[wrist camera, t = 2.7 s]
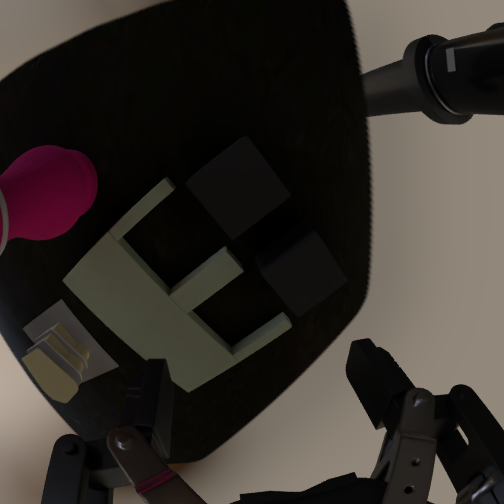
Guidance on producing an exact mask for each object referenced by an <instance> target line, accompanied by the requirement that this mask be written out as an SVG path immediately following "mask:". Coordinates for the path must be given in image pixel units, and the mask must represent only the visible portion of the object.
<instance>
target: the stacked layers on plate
mask: <svg viewBox="0 0 504 504" xmlns="http://www.w3.org/2000/svg"><path fill="white" fill-rule="evenodd" d="M23 330H24V331H25V332H26V334H27V335H28V336H29V337H30V339H31V340H32V341H33V342H34V343H35V345H34V346H33V347H31V348H30V349H28V350H27V353H28V355H26V356H25V357H23V358H22V360H23V362H24V363H25V365H26V366H27V368H28V369H29V371H30V372H31V374H32V375H33V377H34V378H35V379H36V381H37V382H38V384H39V385H40V386H41V388H42V389H43V390H44V392H46V393H47V394H48V395H49V396H50V397H51V398H52V399H54V400H57V401H60V402H63V403H67V402H68V401H69V400H70V399H71V398H72V397H73V396H74V395H75V394H76V392H77V391H78V386H79V385H80V384H81V383H82V382H85V381H87V380H89V379H92V378H94V377H96V376H98V375H101V374H103V373H105V372H108V371H110V370H112V369H114V368H116V367H119V365H118V364H117V363H116V362H115V361H114V360H113V359H112V358H111V357H110V356H109V355H108V354H107V353H106V352H105V351H104V350H103V348H102V347H101V346H100V345H99V344H98V343H97V342H96V341H95V339H94V338H93V337H92V336H91V335H90V334H89V333H88V331H87V330H86V329H85V328H84V327H83V325H82V324H81V323H80V322H79V321H78V319H77V318H76V317H75V316H74V314H73V313H72V312H71V311H70V309H69V308H68V307H67V306H66V304H65V303H64V302H63V300H62V299H61V300H60V301H58V302H57V303H56V304H54V305H53V306H51V307H50V308H49V309H47V310H46V311H45V312H43V313H42V314H41V315H39V316H38V317H37V318H35V319H34V320H33V321H32V322H30V323H29V324H28V325H26V326H25V327H24V328H23Z"/></svg>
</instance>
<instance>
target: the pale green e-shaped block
mask: <svg viewBox="0 0 504 504" xmlns="http://www.w3.org/2000/svg"><path fill="white" fill-rule="evenodd" d="M175 188H176V186H175V185H174V184H173V183H172V182H171V180H170V179H169V178H168V177H166V178H165V179H163V180H162V181H161V182H160V183H159V184H158V185H156V186H155V187H154V188H153V189H152V190H151V191H150V192H149V193H148V194H146V195H145V196H144V197H143V198H142V199H141V200H140V201H139V202H138V203H137V204H136V205H134V206H133V207H132V208H131V209H130V210H129V211H128V212H127V213H126V214H125V215H124V216H123V217H122V218H121V219H120V220H119V221H118V222H117V223H116V224H115V225H114V226H113V227H112V228H111V229H110V230H109V231H108V232H107V233H106V234H105V235H104V236H103V237H102V238H101V239H100V240H99V241H98V242H97V243H96V244H95V245H94V246H93V247H92V248H91V249H90V250H89V251H88V253H87V254H86V255H85V256H84V257H83V258H82V259H81V260H80V261H79V262H78V263H77V265H76V266H75V267H74V268H73V269H72V270H71V271H70V272H69V274H68V275H67V276H66V277H65V278H64V279H63V282H64V283H65V284H66V285H67V286H68V287H69V288H70V289H71V291H72V292H73V293H74V294H75V295H76V296H77V297H78V298H79V299H80V300H81V301H82V302H83V303H84V304H85V305H86V306H87V307H88V308H89V309H90V310H91V311H92V312H93V313H94V314H95V315H96V316H97V317H98V318H99V319H100V320H101V321H102V322H103V323H104V324H105V325H106V326H108V327H109V328H110V329H111V330H112V331H113V332H114V333H115V334H116V335H117V336H118V337H120V338H121V339H122V340H123V341H124V342H125V343H126V344H128V345H129V346H130V347H131V348H132V349H133V350H134V351H136V352H137V353H138V354H139V355H140V356H142V357H143V358H144V359H145V360H146V361H147V360H148V359H149V358H165V359H166V360H167V364H168V368H169V372H170V376H171V380H172V381H173V382H175V383H176V384H177V385H179V386H180V387H181V388H183V389H184V390H186V391H187V392H190V391H192V390H193V389H195V388H197V387H199V386H200V385H202V384H204V383H205V382H207V381H209V380H211V379H212V378H214V377H216V376H217V375H219V374H221V373H222V372H224V371H225V370H227V369H229V368H230V367H232V366H233V365H235V364H237V363H238V362H239V361H241V360H243V359H245V358H246V357H248V356H249V355H251V354H252V353H254V352H255V351H257V350H258V349H260V348H262V347H263V346H265V345H266V344H268V343H269V342H271V341H272V340H274V339H275V338H276V337H278V336H279V335H281V334H282V333H284V332H285V331H287V330H288V329H290V328H291V327H292V324H291V322H290V320H289V318H288V317H287V316H286V315H285V314H284V312H282V313H280V314H279V315H277V316H276V317H274V318H273V319H272V320H270V321H269V322H267V323H266V324H264V325H263V326H262V327H260V328H259V329H257V330H256V331H254V332H253V333H251V334H250V335H248V336H247V337H245V338H244V339H242V340H241V341H240V342H238V343H237V344H235V345H233V346H232V347H231V346H230V345H229V344H227V343H226V342H225V341H224V340H223V339H222V338H221V337H220V336H219V335H218V334H217V333H215V332H214V331H213V330H212V329H211V328H210V327H209V326H208V325H207V324H206V323H205V322H204V321H203V320H202V319H201V318H200V317H199V316H197V315H196V314H195V313H194V312H193V311H192V310H193V309H194V308H195V307H197V306H198V305H199V304H201V303H202V302H203V301H205V300H206V299H207V298H209V297H210V296H211V295H213V294H214V293H215V292H217V291H218V290H219V289H221V288H222V287H223V286H225V285H226V284H227V283H229V282H230V281H231V280H233V279H234V278H235V277H237V276H238V275H239V274H241V273H242V272H243V267H242V264H241V263H240V262H239V261H238V259H237V258H236V257H235V256H234V255H233V254H232V252H231V251H230V250H229V249H228V248H227V247H226V246H224V247H223V248H222V249H220V250H219V251H218V252H217V253H215V254H214V255H213V256H211V257H210V258H209V259H208V260H206V261H205V262H204V263H203V264H201V265H200V266H199V267H197V268H196V269H195V270H194V271H192V272H191V273H190V274H189V275H187V276H186V277H185V278H184V279H182V280H181V281H180V282H179V283H177V284H176V285H175V286H174V287H172V288H171V289H170V288H169V287H168V286H167V285H166V284H165V283H164V282H163V281H162V280H161V279H160V277H159V276H158V275H157V274H156V273H155V272H154V271H153V270H152V269H151V268H150V267H149V266H148V265H147V264H146V263H145V262H144V261H143V259H142V258H141V257H140V256H139V255H138V254H137V253H136V252H135V251H134V250H133V249H132V247H131V246H130V245H129V244H128V243H127V242H126V241H125V240H124V238H123V237H122V236H123V235H125V234H126V233H127V232H128V231H129V230H130V229H131V228H132V227H133V226H134V225H135V224H136V223H137V222H138V221H139V220H141V219H142V218H143V217H144V216H145V215H146V214H147V213H148V212H149V211H150V210H152V209H153V208H154V207H155V206H156V205H157V204H158V203H159V202H161V201H162V200H163V199H164V198H165V197H166V196H168V195H169V194H170V193H171V192H172V191H173V190H174V189H175Z"/></svg>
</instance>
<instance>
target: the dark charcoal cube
mask: <svg viewBox="0 0 504 504" xmlns="http://www.w3.org/2000/svg"><path fill="white" fill-rule="evenodd" d="M185 184H186V186H187V187H188V188H189V189H190V190H191V192H192V193H193V194H194V195H195V196H196V198H197V199H198V200H199V201H200V202H201V204H202V205H203V206H204V207H205V208H206V210H207V211H208V212H209V213H210V214H211V215H212V217H213V218H214V219H215V220H216V221H217V223H218V224H219V225H220V226H221V227H222V229H223V230H224V231H225V232H226V233H227V235H228V236H229V237H230V238H231V239H232V240H234V239H235V238H237V237H238V236H239V235H241V234H242V233H243V232H244V231H246V230H247V229H248V228H250V227H251V226H252V225H254V224H255V223H256V222H258V221H259V220H260V219H261V218H263V217H264V216H265V215H267V214H268V213H269V212H271V211H272V210H273V209H275V208H276V207H277V206H279V205H280V204H281V203H282V202H284V201H285V200H286V199H288V198H289V197H290V196H291V194H290V193H289V191H288V190H287V189H286V187H285V186H284V184H283V183H282V182H281V180H280V179H279V178H278V176H277V175H276V173H275V172H274V171H273V169H272V168H271V167H270V165H269V164H268V163H267V161H266V160H265V159H264V157H263V156H262V155H261V153H260V152H259V151H258V149H257V148H256V147H255V146H254V144H253V143H252V142H251V140H250V139H249V138H248V137H247V136H245V137H242V138H240V139H239V140H238V141H236V142H235V143H234V144H232V145H231V146H230V147H228V148H227V149H226V150H224V151H223V152H222V153H220V154H219V155H218V156H216V157H215V158H214V159H213V160H211V161H210V162H209V163H208V164H206V165H205V166H204V167H202V168H201V169H200V170H199V171H198V172H196V173H195V174H194V175H193V176H191V177H190V178H189V179H188V181H187V182H186V183H185Z"/></svg>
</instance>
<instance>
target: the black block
mask: <svg viewBox="0 0 504 504" xmlns="http://www.w3.org/2000/svg"><path fill="white" fill-rule="evenodd" d="M255 259H256V262H257V264H258V267H259V269H260V272H261V274H262V276H263V277H264V278H265V280H266V281H267V282H268V283H269V284H270V286H271V287H272V288H273V289H274V290H275V291H276V293H277V294H278V295H279V296H280V297H281V299H282V300H283V301H284V302H285V303H286V304H287V306H288V307H289V308H290V309H291V310H292V312H293V313H294V314H295V315H296V316H297V317H298V318H299V317H300V316H302V315H303V314H304V313H306V312H307V311H309V310H310V309H311V308H313V307H314V306H315V305H317V304H318V303H320V302H321V301H322V300H324V299H325V298H326V297H328V296H329V295H330V294H332V293H333V292H334V291H335V290H337V289H338V288H339V287H341V286H342V285H343V284H345V283H346V282H347V281H348V279H347V277H346V276H345V274H344V273H343V271H342V270H341V268H340V266H339V265H338V263H337V262H336V260H335V259H334V257H333V256H332V254H331V253H330V251H329V250H328V248H327V247H326V245H325V243H324V242H323V240H322V239H321V237H320V236H319V235H318V233H317V232H315V231H314V230H313V229H312V228H311V227H309V226H308V225H307V224H306V223H305V222H303V221H301V222H300V223H299V224H297V225H296V226H295V227H294V228H292V229H291V230H290V231H288V232H287V233H286V234H284V235H283V236H282V237H280V238H279V239H278V240H276V241H275V242H274V243H272V244H271V245H270V246H269V247H267V248H266V249H265V250H263V251H262V252H261V253H259V254H258V255H257V256H255Z"/></svg>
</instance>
